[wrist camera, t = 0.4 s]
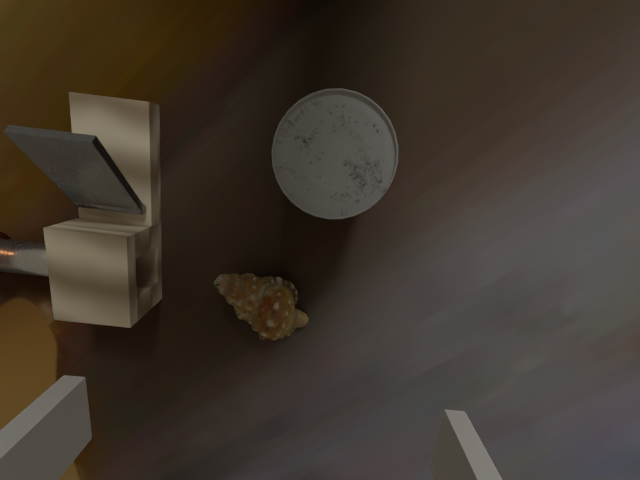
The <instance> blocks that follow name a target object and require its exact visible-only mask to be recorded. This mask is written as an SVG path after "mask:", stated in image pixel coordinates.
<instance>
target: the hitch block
mask: <svg viewBox="0 0 640 480" xmlns="http://www.w3.org/2000/svg"><path fill="white" fill-rule="evenodd" d="M69 101H70V113H71V125H72V133H79V134H87V135H95V136H97V138H98V139H99V141H100V142H101V144H102V145H103V146H104V148H105V149H106V151H107V152H108V154H109V155H110V157H111V158H112V160H113V161H114V162H115V164H116V165H117V167H118V168H119V170H120V171H121V173H122V174H123V176H124V177H125V179H126V180H127V181H128V183H129V184H130V186H131V187H132V189H133V190H134V192H135V193H136V195H137V196H138V197H139V199H140V200H141V202H142V203H143V204H145V205H146V212H145V214H144V215H140V214H131V213H123V212H114V211H106V210H97V209H89V208H80V207H78V208H79V218H77V219H73V220H70V221H66V222H63V223H59V224H55V225H52V226H48V227H45V228H43V230H44V239H45V247H46V256H47V264H48V273H49V282H50V290H51V299H52V308H53V316H54V320H62V321H71V322H80V323H90V324H99V325H108V326H118V327H127V328H131V327H132V326H133V325H134V324H135V323H136V322H137V321H138V320H140V319H141V318H142V317H143V316H144V315H145V314H146V313H147V312H148V311H149V310H150V309H151V308H153V307H154V306H155V305H156V304H157V303H158V302H159V301H160V300H161V299H162V252H161V182H160V112H159V105H158V104H154V103H151V102H145V101H137V100H129V99H121V98H113V97H105V96H98V95H90V94H82V93H74V92H69Z"/></svg>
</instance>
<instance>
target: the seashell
mask: <svg viewBox="0 0 640 480" xmlns="http://www.w3.org/2000/svg"><path fill="white" fill-rule="evenodd" d="M214 286H215V287H216V288H217V289H218V291H219V293H220V294H222V295H224V296H225V299H226V301H227V303H229V304H231V305H233V307H234V310H235V313H236V315H237V317H238V318H239V319H241V320H244V321H246V322H248V323H250V324H251V326H252V329H253V330H254V331H257V332H258V333H259V338H260V339H272V340H276V339H278V338H280V339H281V338H283V337H286V336H290V335H291V334H292V333H293V332H294V331H295V329H296V328H298V327H304V326H305V325H306V324H307V323H308V320H309V318H308V316H307V314H306V313H304V312H302V311H301V310H298V309H295V305H296V303H297V299H298V292H297V289H296V288H295V286H294V285H293V283H291V282H290V281H287V280H285V279H283V278H281V277H275V278H273V277H271V276H270V277H267V276H266V277H263V278H260V277H257V276H255V275H254V274H250V273H244V274H241V275H239V274H237V273H235V274H234V273H230V274H220V275H219V276H218V277H217V278H216V279H215V281H214Z"/></svg>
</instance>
